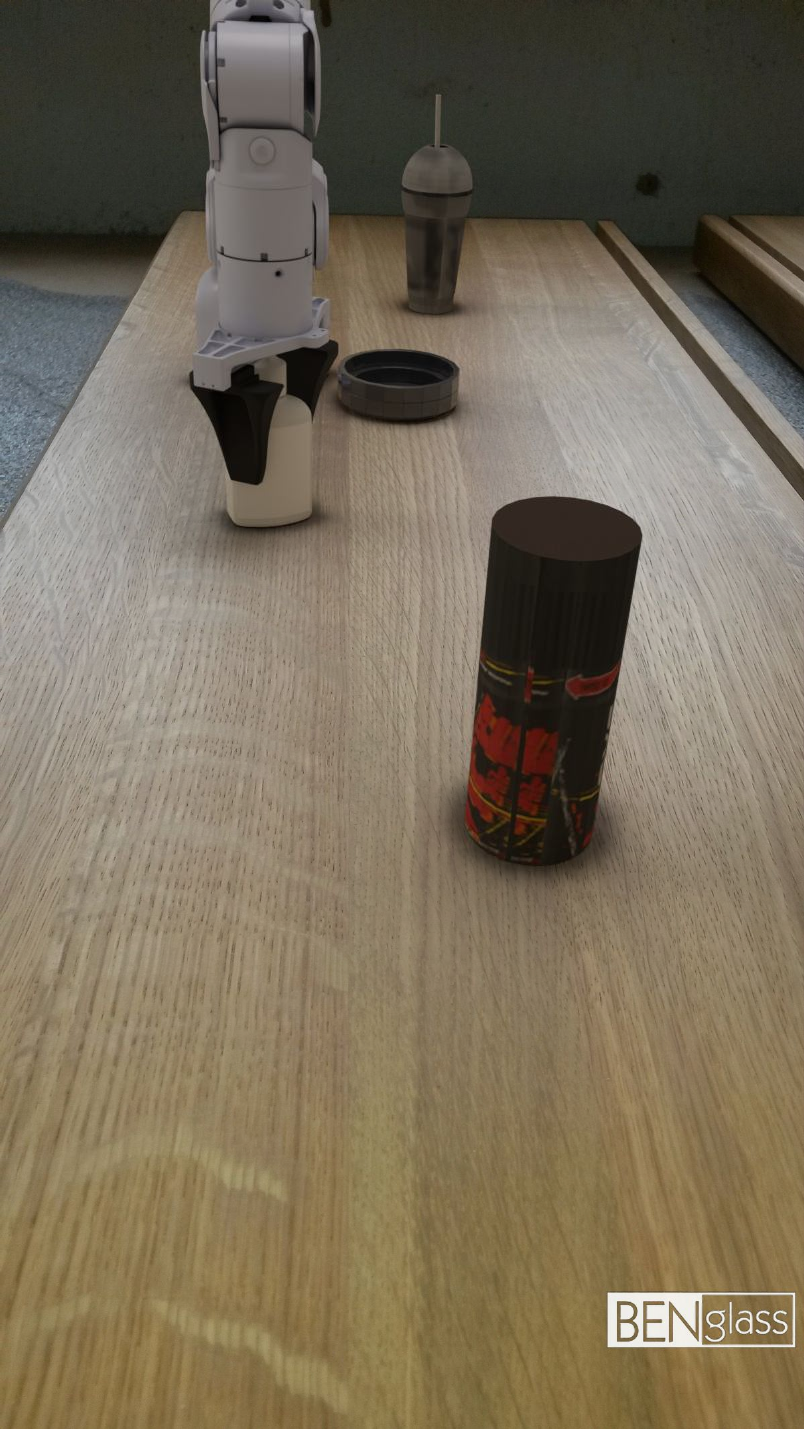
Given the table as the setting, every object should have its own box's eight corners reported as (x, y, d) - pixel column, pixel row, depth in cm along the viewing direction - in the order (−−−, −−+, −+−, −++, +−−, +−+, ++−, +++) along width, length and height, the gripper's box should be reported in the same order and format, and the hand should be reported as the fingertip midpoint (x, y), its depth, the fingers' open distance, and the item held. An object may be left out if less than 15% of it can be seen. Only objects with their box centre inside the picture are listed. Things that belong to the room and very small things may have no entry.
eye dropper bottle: (303, 534, 81) (302, 354, 74) (221, 526, 81) (212, 346, 74) (317, 508, 84) (317, 333, 78) (238, 499, 85) (231, 326, 78)
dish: (318, 410, 100) (318, 374, 98) (367, 375, 108) (368, 342, 106) (431, 432, 97) (433, 395, 95) (473, 394, 105) (476, 360, 103)
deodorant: (457, 785, 59) (481, 495, 50) (578, 783, 59) (622, 496, 51) (473, 867, 54) (504, 561, 45) (605, 863, 54) (659, 561, 46)
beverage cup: (473, 303, 128) (489, 92, 117) (453, 321, 123) (468, 101, 111) (408, 294, 130) (418, 85, 119) (385, 311, 124) (393, 94, 113)
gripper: (267, 287, 66) (271, 517, 74) (374, 235, 77) (368, 439, 85) (155, 269, 68) (170, 494, 76) (275, 221, 80) (278, 421, 87)
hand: (268, 464), depth 81 cm, fingers open, 6 cm apart
